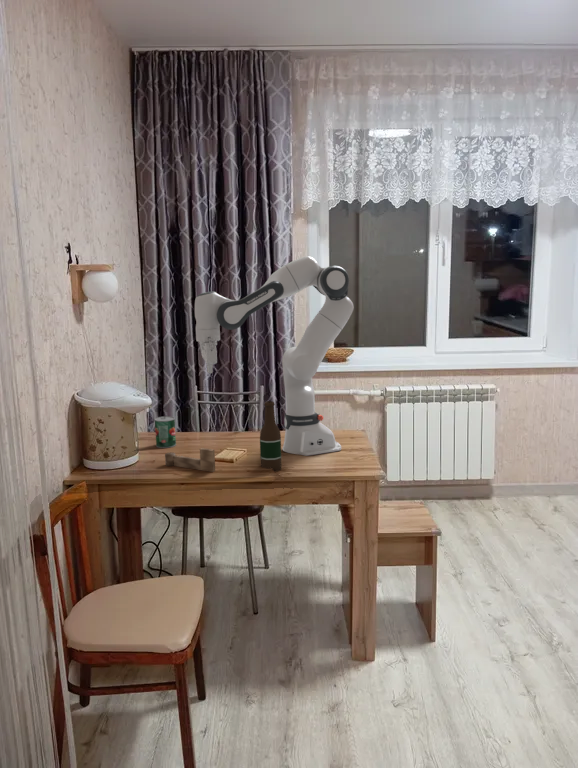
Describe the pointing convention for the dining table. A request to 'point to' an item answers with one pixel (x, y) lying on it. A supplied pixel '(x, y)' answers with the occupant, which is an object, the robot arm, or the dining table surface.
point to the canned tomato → (165, 432)
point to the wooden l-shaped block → (193, 460)
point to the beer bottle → (270, 440)
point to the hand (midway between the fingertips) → (209, 372)
